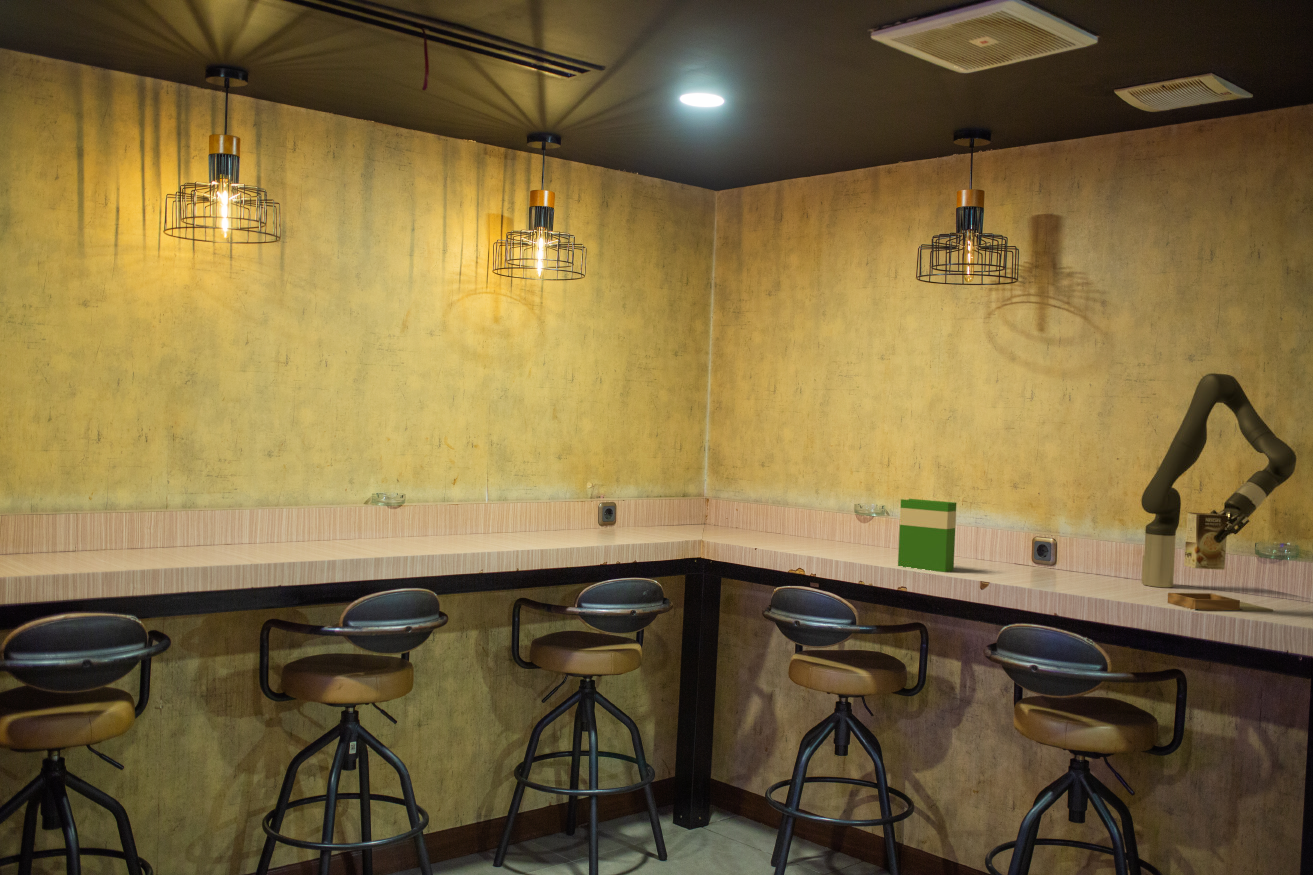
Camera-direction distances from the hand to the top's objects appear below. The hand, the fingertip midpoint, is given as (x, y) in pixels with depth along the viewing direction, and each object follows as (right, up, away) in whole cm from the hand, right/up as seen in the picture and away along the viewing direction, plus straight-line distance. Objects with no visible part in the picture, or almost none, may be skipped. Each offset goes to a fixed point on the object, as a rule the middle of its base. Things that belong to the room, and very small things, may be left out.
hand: (1207, 539), depth 317 cm
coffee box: (-1, -9, 0) cm, 9 cm away
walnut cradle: (-1, -20, 0) cm, 20 cm away
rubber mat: (+11, -20, +2) cm, 24 cm away
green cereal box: (-68, -17, +63) cm, 94 cm away
